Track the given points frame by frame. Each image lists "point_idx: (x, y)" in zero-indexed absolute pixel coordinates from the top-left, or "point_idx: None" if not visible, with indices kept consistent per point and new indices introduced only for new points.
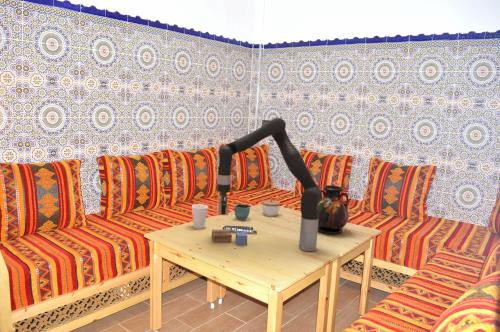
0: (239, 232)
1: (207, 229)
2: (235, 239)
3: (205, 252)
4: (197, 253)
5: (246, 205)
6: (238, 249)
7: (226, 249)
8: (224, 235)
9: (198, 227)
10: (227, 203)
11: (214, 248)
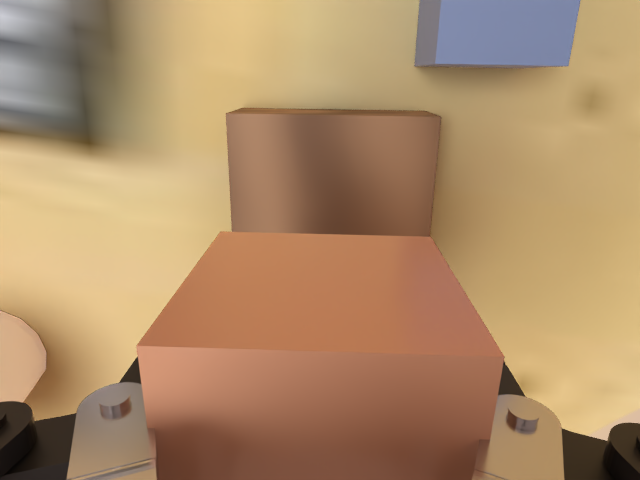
0: (445, 9)
1: (55, 289)
2: (421, 65)
3: (620, 358)
4: (623, 411)
5: None
6: (633, 70)
7: (601, 188)
8: (432, 201)
9: (40, 366)
10: (245, 355)
11: (552, 285)
